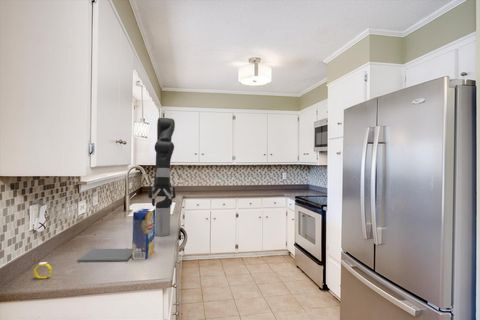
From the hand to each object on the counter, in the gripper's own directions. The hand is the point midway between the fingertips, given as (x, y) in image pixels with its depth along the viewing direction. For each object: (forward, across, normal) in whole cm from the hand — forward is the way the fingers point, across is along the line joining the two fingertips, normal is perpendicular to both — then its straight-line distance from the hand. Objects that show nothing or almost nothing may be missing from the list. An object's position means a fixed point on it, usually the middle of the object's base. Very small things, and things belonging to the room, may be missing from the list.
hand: (161, 206), depth 154 cm
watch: (+27, +38, +38) cm, 60 cm away
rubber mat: (+24, +22, +13) cm, 35 cm away
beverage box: (+24, +5, +13) cm, 28 cm away
